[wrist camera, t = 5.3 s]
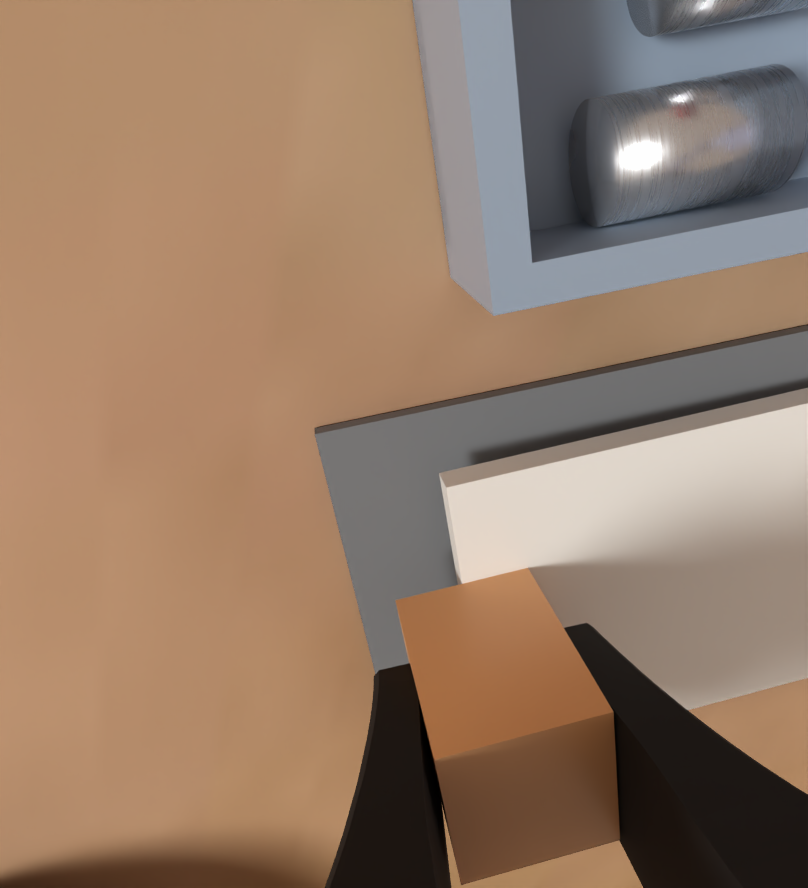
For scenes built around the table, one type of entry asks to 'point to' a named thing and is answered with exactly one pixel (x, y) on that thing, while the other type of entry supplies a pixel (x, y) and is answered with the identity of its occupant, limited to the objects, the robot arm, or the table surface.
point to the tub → (547, 146)
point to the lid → (603, 612)
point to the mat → (508, 455)
